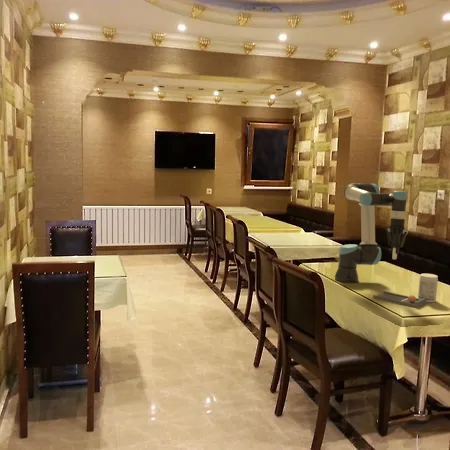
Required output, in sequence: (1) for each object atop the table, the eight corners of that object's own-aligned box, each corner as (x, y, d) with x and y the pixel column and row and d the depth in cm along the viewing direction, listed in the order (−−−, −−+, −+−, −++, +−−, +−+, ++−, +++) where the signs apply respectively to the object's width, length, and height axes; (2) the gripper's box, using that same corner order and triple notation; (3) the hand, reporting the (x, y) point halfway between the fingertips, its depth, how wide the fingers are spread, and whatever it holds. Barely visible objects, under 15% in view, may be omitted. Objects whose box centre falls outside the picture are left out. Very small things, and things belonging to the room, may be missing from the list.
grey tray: (372, 297, 273) (373, 292, 273) (383, 293, 283) (383, 288, 283) (416, 307, 256) (416, 302, 256) (426, 303, 266) (426, 297, 266)
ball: (408, 294, 263) (415, 298, 261) (412, 293, 266) (418, 297, 264) (405, 300, 265) (412, 304, 263) (409, 298, 268) (415, 303, 265)
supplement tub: (421, 297, 279) (423, 272, 277) (438, 300, 272) (440, 275, 270) (415, 300, 272) (417, 274, 270) (432, 303, 265) (434, 278, 263)
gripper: (383, 217, 273) (380, 257, 276) (406, 219, 264) (402, 261, 267) (389, 216, 278) (386, 256, 281) (411, 218, 270) (408, 259, 273)
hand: (394, 258), depth 274 cm, fingers closed
